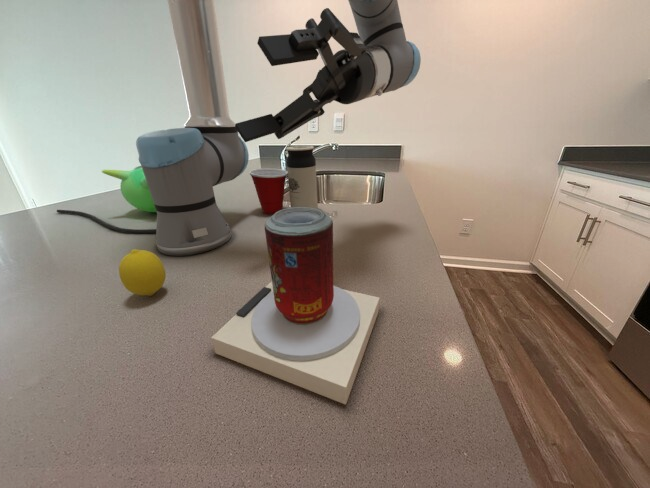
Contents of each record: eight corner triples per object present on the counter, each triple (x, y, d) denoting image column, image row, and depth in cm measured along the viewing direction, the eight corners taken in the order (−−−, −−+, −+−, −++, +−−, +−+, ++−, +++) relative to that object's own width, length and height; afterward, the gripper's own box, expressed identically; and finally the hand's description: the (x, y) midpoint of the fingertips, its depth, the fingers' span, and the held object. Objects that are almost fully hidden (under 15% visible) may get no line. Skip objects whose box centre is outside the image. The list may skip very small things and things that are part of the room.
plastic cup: (281, 218, 71) (277, 174, 66) (247, 215, 74) (241, 173, 69) (296, 207, 81) (294, 167, 76) (266, 204, 84) (261, 166, 78)
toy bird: (203, 204, 86) (193, 158, 79) (164, 222, 71) (147, 167, 65) (158, 202, 90) (145, 158, 83) (112, 218, 75) (92, 166, 69)
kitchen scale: (215, 353, 30) (209, 332, 28) (279, 287, 41) (277, 270, 40) (345, 405, 24) (346, 381, 23) (378, 312, 36) (380, 292, 34)
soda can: (270, 299, 33) (258, 208, 28) (321, 287, 36) (319, 201, 30) (283, 337, 27) (270, 231, 22) (343, 319, 30) (344, 220, 24)
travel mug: (309, 205, 82) (305, 144, 74) (323, 211, 76) (320, 146, 68) (286, 210, 78) (280, 147, 70) (299, 217, 72) (293, 149, 64)
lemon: (143, 286, 43) (125, 242, 39) (177, 283, 43) (163, 240, 40) (122, 307, 38) (100, 260, 34) (161, 304, 38) (143, 257, 35)
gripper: (429, 22, 33) (308, 31, 22) (332, 138, 54) (246, 173, 43) (398, -30, 33) (258, -49, 21) (313, 107, 54) (221, 134, 43)
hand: (250, 99), depth 32 cm, fingers open, 13 cm apart
